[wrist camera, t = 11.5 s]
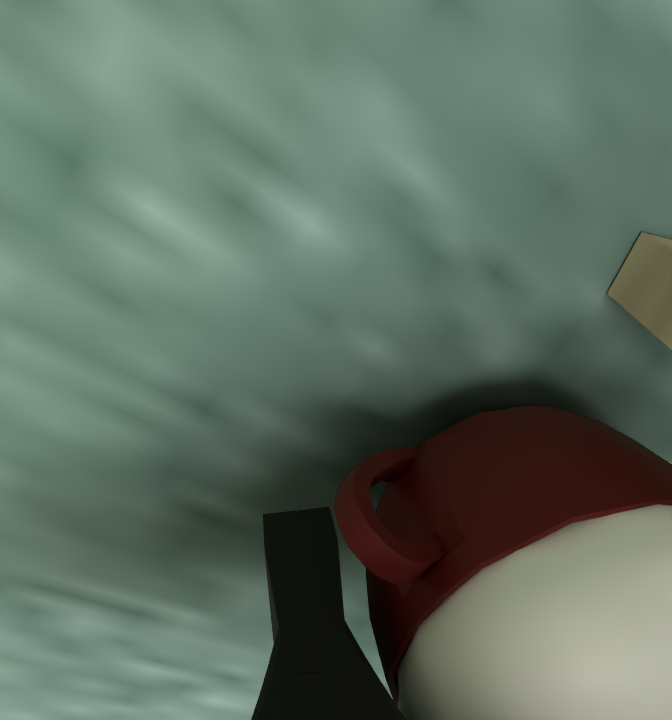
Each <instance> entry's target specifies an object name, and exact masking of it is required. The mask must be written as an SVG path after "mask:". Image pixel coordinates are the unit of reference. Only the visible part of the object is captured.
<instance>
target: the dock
mask: <svg viewBox="0 0 672 720" xmlns="http://www.w3.org/2000/svg"><path fill="white" fill-rule="evenodd" d="M607 294H608V295H609V296H610V297H611V298H613V299H614V300H615V301H616V302H617V303H618V304H619V305H621V306H622V307H623V308H624V309H625V310H626V311H627V312H629V313H630V314H631V315H632V316H633V317H634V318H635V319H637V320H638V321H639V322H640V323H641V324H642V325H643V326H644V327H646V328H647V329H648V330H649V331H650V332H651V333H652V334H654V335H655V336H656V337H657V338H658V339H659V340H660V341H662V342H663V343H664V344H665V345H666V346H667V347H668V348H670V349H671V350H672V240H671V239H667V238H663V237H660V236H656V235H652V234H648V233H644V232H641V234H640V236H639V237H638V239H637V241H636V243H635V245H634V246H633V248H632V250H631V252H630V254H629V255H628V257H627V259H626V261H625V262H624V264H623V266H622V268H621V270H620V271H619V273H618V275H617V277H616V279H615V280H614V282H613V284H612V286H611V287H610V289H609V291H608V293H607Z"/></svg>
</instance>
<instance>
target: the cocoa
mask: <svg viewBox="0 0 672 720" xmlns="http://www.w3.org/2000/svg"><path fill="white" fill-rule="evenodd" d="M380 481H386V482H388V483H387V486H386V488H385V490H384V492H383V494H382V497H381V500H380V502H379V505H378V508H377V511H376V512H375V510H374V509H373V505H372V502H371V499H370V487H371V486H373V485H375V484H377V483H379V482H380ZM334 511H335V515H336V519H337V522H338V526H339V529H340V531H341V533H342V535H343V537H344V539H345V541H346V543H347V545H348V547H349V548H350V549H351V550H352V552H353V553H354V554H355V555H356V556H357V558H358V559H359V560H360V561H361V562H362V564H363V565H364V566H365V567H366V582H367V593H368V604H369V615H370V621H371V625H372V628H373V632H374V636H375V640H376V644H377V648H378V652H379V656H380V659H381V663H382V667H383V670H384V674H385V678H386V681H387V684H388V686H389V689H390V692H391V695H392V697H393V700H394V702H395V704H396V705H397V707H398V708H399V709H400V711H401V712H402V714H403V715H404V717H405V718H406V719H407V720H672V464H670V463H669V462H667V461H666V460H664V459H662V458H661V457H659V456H658V455H656V454H655V453H653V452H652V451H650V450H649V449H647V448H646V447H644V446H643V445H641V444H640V443H638V442H637V441H635V440H633V439H632V438H630V437H628V436H626V435H624V434H622V433H621V432H619V431H617V430H615V429H613V428H611V427H610V426H608V425H606V424H604V423H602V422H600V421H599V420H595V419H592V418H588V417H585V416H581V415H578V414H574V413H571V412H567V411H564V410H560V409H557V408H553V407H545V406H531V405H525V406H519V407H512V408H506V409H500V410H494V411H488V412H482V413H476V414H474V415H472V416H470V417H468V418H466V419H464V420H462V421H461V422H459V423H457V424H455V425H453V426H451V427H449V428H447V429H445V430H443V431H442V432H440V433H438V434H436V435H434V436H432V437H430V438H428V439H426V440H425V441H424V442H423V443H422V444H421V445H420V446H419V447H418V448H417V449H414V448H408V447H397V448H393V449H389V450H384V451H379V452H377V453H375V454H373V455H372V456H370V457H368V458H366V459H365V460H364V461H363V462H362V463H361V464H359V465H358V466H357V467H356V468H355V469H354V470H353V471H352V472H350V473H349V474H348V475H347V476H346V477H345V479H344V480H343V481H342V483H341V484H340V486H339V488H338V491H337V494H336V498H335V503H334Z"/></svg>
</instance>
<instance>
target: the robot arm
mask: <svg viewBox="0 0 672 720" xmlns="http://www.w3.org/2000/svg"><path fill="white" fill-rule="evenodd" d="M263 525H264V548H265V558H266V569H267V579H268V589H269V600H270V610H271V621H272V631H273V640H274V646H273V649H272V653H271V657H270V661H269V665H268V668H267V672H266V675H265V678H264V682H263V685H262V688H261V691H260V695H259V698H258V701H257V704H256V707H255V710H254V713H253V716H252V719H251V720H407V719H406V718H405V717H404V715H403V714H402V712H401V711H400V709H399V708H398V707H397V705H396V704H395V702H394V701H393V699H392V698H391V696H390V695H389V693H388V692H387V690H386V689H385V687H384V686H383V684H382V682H381V681H380V679H379V678H378V676H377V675H376V673H375V671H374V670H373V668H372V667H371V665H370V663H369V662H368V660H367V658H366V657H365V655H364V653H363V652H362V650H361V648H360V646H359V645H358V643H357V641H356V640H355V638H354V636H353V634H352V633H351V631H350V629H349V627H348V625H347V624H346V622H345V620H344V609H343V598H342V586H341V574H340V563H339V551H338V540H337V535H336V531H335V527H334V523H333V519H332V515H331V511H330V507H324V508H315V509H306V510H298V511H288V512H279V513H269V514H263Z"/></svg>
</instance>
